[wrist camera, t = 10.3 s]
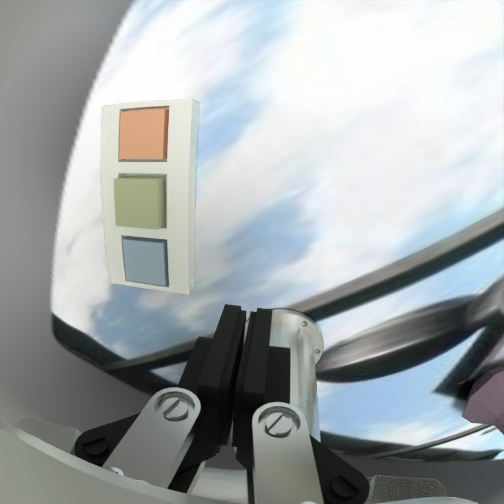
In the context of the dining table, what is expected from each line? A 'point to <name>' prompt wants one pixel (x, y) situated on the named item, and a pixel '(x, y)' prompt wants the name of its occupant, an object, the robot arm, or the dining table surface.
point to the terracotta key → (144, 134)
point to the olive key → (139, 201)
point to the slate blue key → (146, 260)
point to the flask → (487, 399)
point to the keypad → (176, 191)
